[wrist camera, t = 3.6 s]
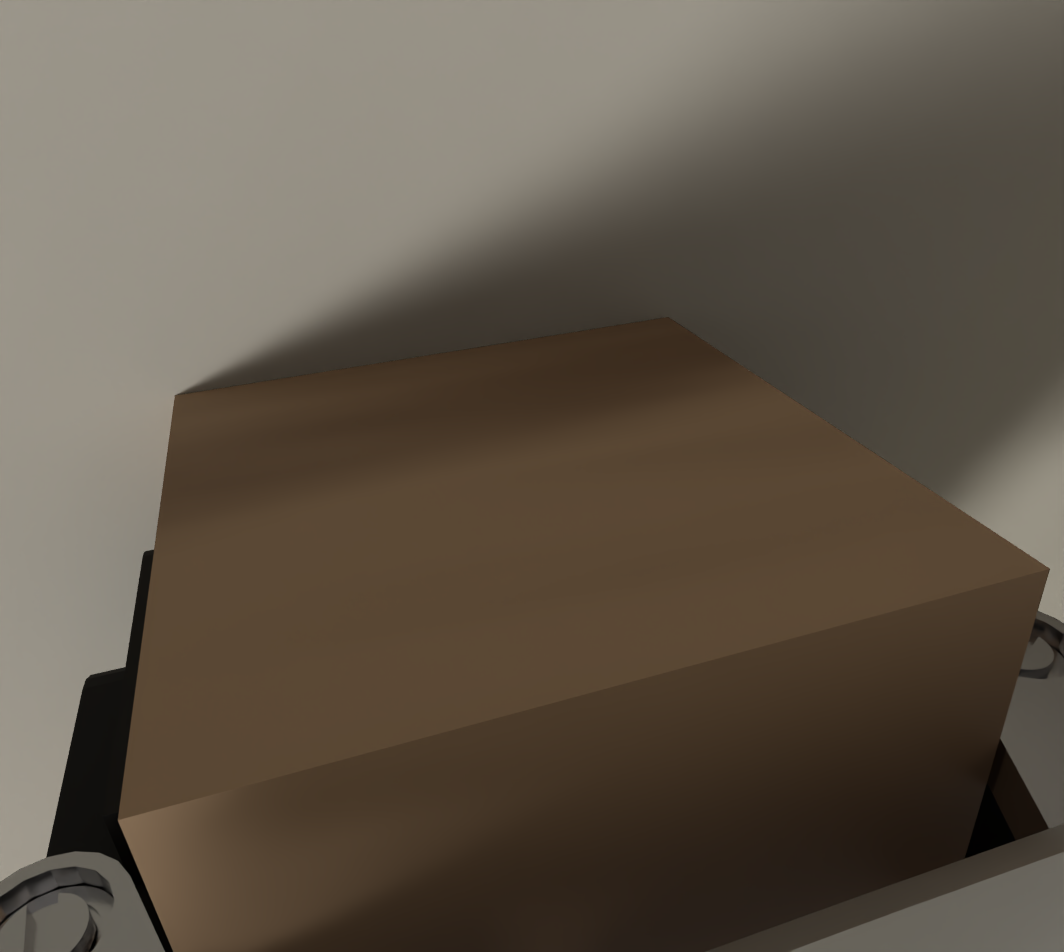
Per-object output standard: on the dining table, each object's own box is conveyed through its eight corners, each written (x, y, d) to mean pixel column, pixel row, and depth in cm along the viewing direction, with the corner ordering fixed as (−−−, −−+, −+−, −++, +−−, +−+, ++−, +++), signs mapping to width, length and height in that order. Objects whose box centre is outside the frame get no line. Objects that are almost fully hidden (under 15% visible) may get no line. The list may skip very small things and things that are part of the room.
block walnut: (175, 394, 9) (118, 819, 4) (667, 316, 11) (1051, 569, 6) (280, 775, 12) (318, 1294, 7) (658, 673, 14) (908, 1047, 9)
